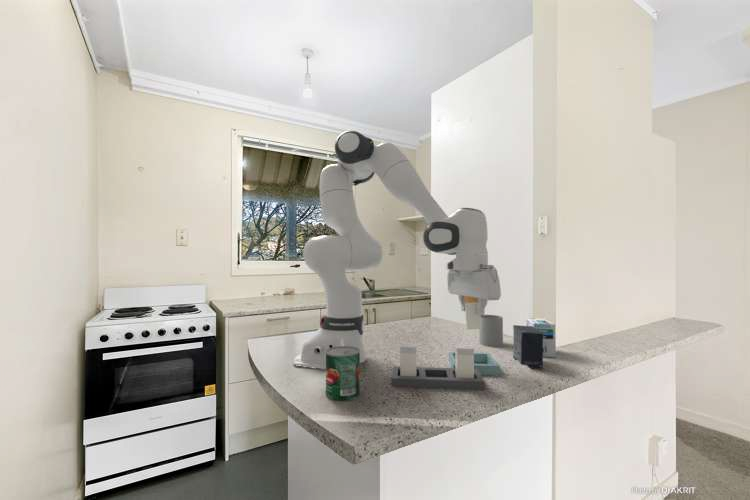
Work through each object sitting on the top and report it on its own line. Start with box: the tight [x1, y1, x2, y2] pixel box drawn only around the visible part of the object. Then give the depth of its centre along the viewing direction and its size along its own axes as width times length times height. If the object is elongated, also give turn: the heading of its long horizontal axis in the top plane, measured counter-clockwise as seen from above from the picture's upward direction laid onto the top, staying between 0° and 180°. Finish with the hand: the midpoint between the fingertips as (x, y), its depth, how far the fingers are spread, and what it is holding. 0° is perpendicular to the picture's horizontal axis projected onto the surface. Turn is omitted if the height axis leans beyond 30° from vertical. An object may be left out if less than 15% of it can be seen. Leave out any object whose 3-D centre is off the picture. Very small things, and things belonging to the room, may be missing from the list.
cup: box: [478, 314, 504, 348], centre depth 127 cm, size 8×8×10 cm
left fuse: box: [399, 342, 417, 376], centre depth 88 cm, size 4×4×9 cm
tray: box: [448, 351, 501, 376], centre depth 98 cm, size 12×12×4 cm
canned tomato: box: [325, 346, 361, 402], centre depth 79 cm, size 8×8×11 cm
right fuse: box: [454, 343, 475, 378], centre depth 86 cm, size 4×4×9 cm
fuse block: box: [391, 365, 486, 391], centre depth 87 cm, size 22×9×3 cm, turn 84°
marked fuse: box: [464, 296, 482, 330], centre depth 98 cm, size 4×4×9 cm
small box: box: [512, 324, 544, 370], centre depth 105 cm, size 11×6×10 cm, turn 171°
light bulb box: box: [526, 317, 557, 358], centre depth 116 cm, size 11×7×11 cm, turn 168°
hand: (472, 312), depth 98 cm, fingers closed on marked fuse, 5 cm apart
